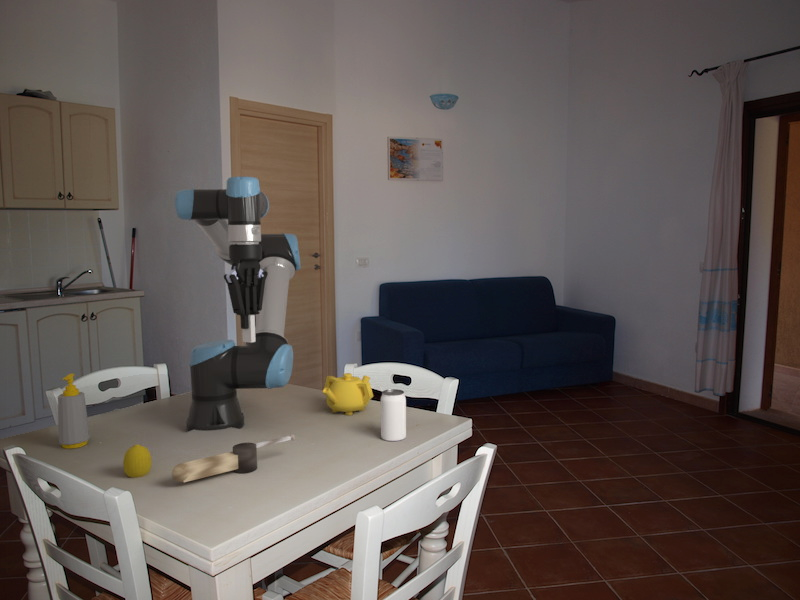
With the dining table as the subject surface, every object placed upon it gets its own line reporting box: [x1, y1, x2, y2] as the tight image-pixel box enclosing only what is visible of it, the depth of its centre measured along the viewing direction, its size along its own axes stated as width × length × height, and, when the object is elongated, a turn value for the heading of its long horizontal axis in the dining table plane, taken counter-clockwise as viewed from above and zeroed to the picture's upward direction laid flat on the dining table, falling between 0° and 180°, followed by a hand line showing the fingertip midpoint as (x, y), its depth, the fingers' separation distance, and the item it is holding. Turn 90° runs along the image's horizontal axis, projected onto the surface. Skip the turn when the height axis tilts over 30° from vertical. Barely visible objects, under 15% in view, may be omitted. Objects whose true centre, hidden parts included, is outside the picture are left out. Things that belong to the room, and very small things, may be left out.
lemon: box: [122, 443, 153, 479], centre depth 126 cm, size 6×6×8 cm
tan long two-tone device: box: [171, 433, 296, 483], centre depth 127 cm, size 27×5×5 cm, turn 126°
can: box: [380, 388, 407, 443], centre depth 150 cm, size 6×6×12 cm
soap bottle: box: [57, 373, 91, 450], centre depth 147 cm, size 7×7×18 cm
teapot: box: [322, 372, 374, 417], centre depth 174 cm, size 20×18×11 cm
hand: (249, 341), depth 142 cm, fingers closed
